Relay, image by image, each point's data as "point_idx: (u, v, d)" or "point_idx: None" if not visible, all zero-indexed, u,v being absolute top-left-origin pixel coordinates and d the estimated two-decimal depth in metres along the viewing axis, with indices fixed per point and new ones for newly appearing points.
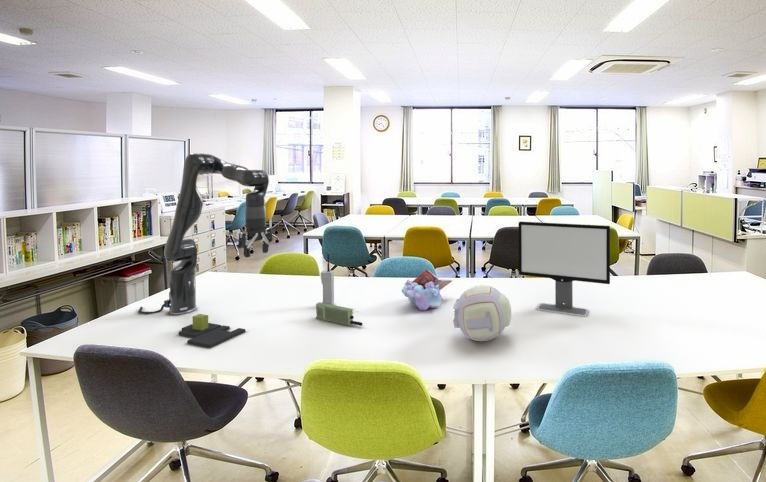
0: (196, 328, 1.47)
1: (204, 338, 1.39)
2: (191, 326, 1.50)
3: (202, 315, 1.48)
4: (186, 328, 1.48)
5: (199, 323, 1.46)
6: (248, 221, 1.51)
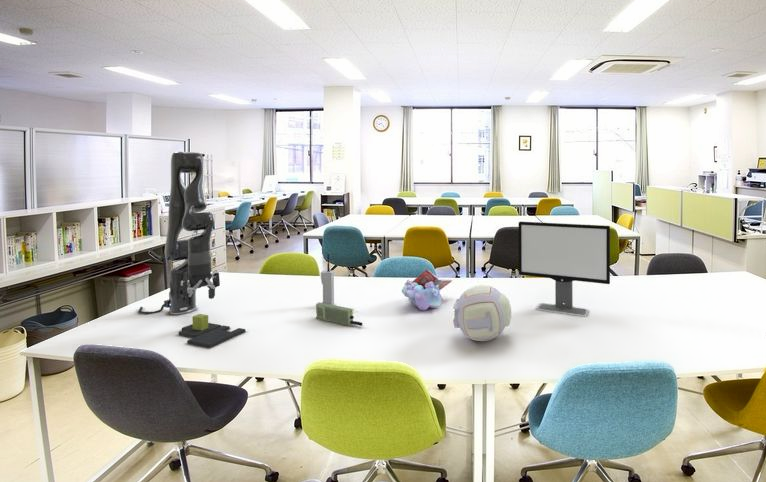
0: (196, 328, 1.47)
1: (204, 338, 1.39)
2: (191, 326, 1.50)
3: (202, 315, 1.48)
4: (186, 328, 1.48)
5: (199, 323, 1.46)
6: (190, 268, 1.44)
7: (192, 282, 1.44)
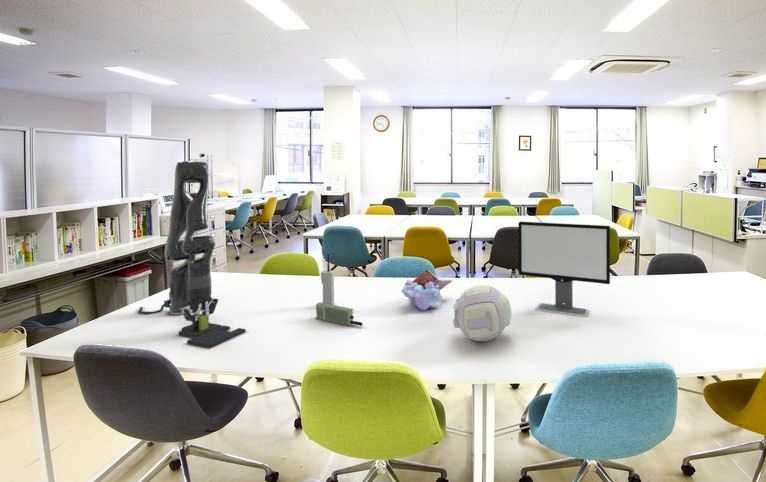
0: None
1: (204, 338, 1.39)
2: (191, 326, 1.50)
3: (202, 315, 1.48)
4: (186, 328, 1.48)
5: (199, 323, 1.46)
6: (190, 292, 1.44)
7: (192, 306, 1.44)
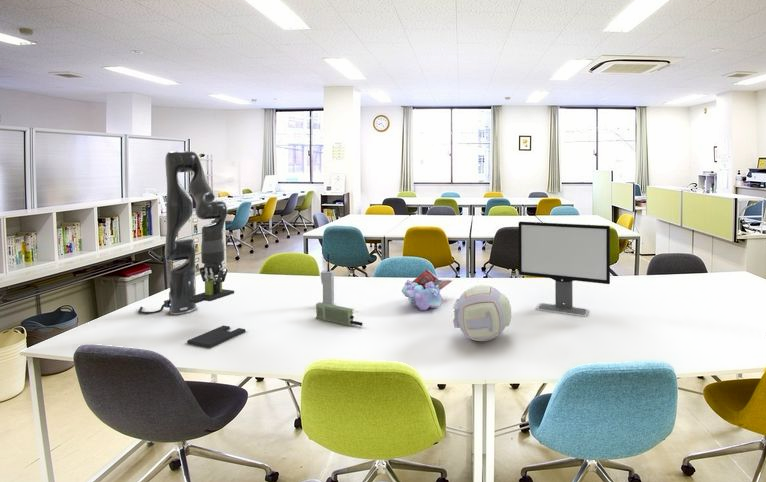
0: None
1: (204, 338, 1.39)
2: (198, 297, 1.44)
3: None
4: (202, 298, 1.43)
5: None
6: (220, 254, 1.48)
7: None
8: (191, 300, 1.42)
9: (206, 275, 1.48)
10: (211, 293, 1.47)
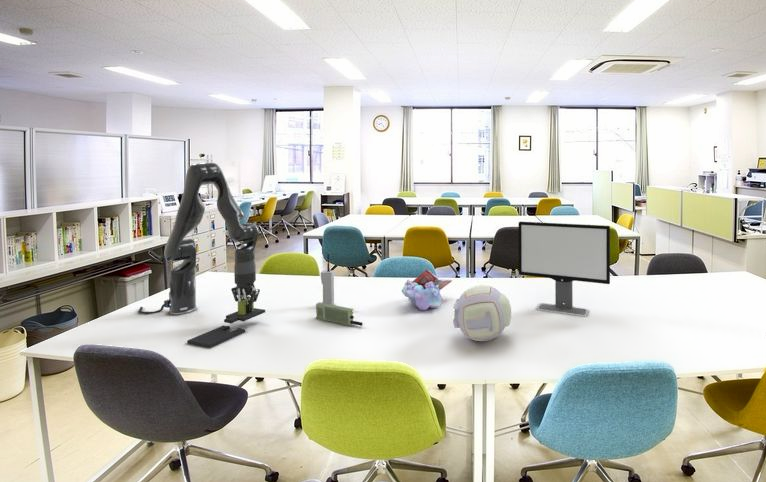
0: None
1: (204, 338, 1.39)
2: (232, 317, 1.48)
3: None
4: (236, 318, 1.48)
5: None
6: (252, 275, 1.53)
7: None
8: (226, 320, 1.46)
9: (239, 295, 1.52)
10: (244, 313, 1.51)
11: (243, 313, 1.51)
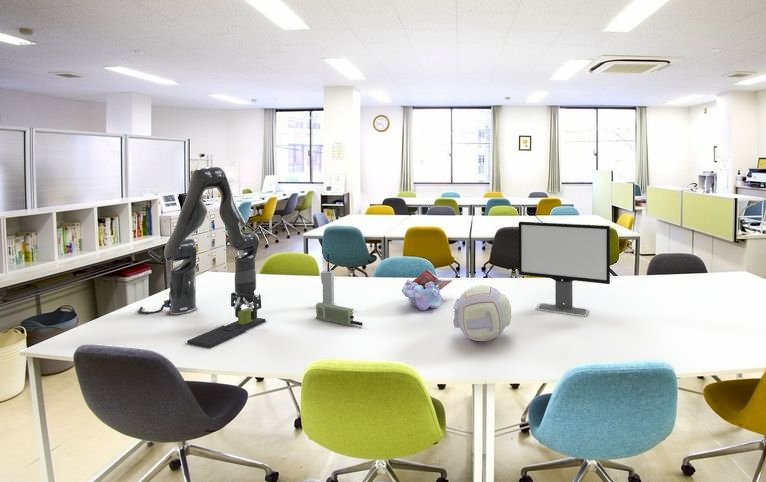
0: (247, 321, 1.53)
1: (204, 338, 1.39)
2: (233, 327, 1.49)
3: (246, 309, 1.54)
4: (236, 328, 1.48)
5: None
6: (253, 283, 1.53)
7: None
8: (226, 330, 1.46)
9: (237, 302, 1.53)
10: (244, 322, 1.52)
11: (243, 323, 1.51)
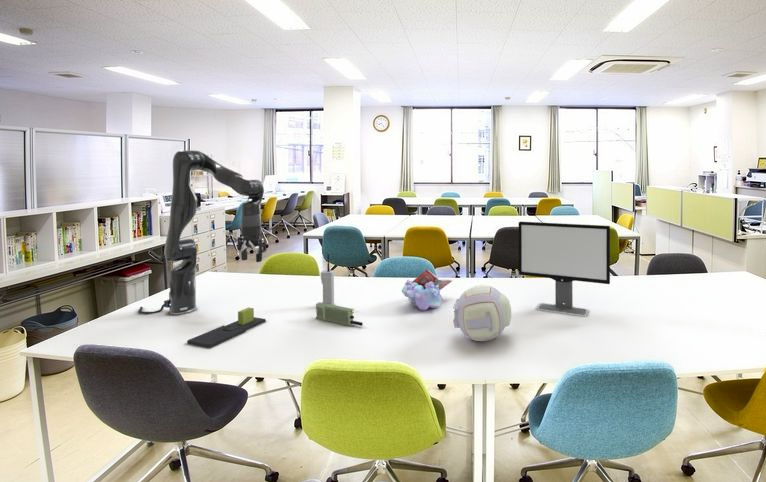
0: (247, 321, 1.53)
1: (204, 338, 1.39)
2: (233, 327, 1.49)
3: (246, 309, 1.54)
4: (236, 328, 1.48)
5: (251, 314, 1.55)
6: (258, 228, 1.61)
7: None
8: (226, 330, 1.46)
9: (243, 246, 1.61)
10: (244, 322, 1.52)
11: (243, 323, 1.51)
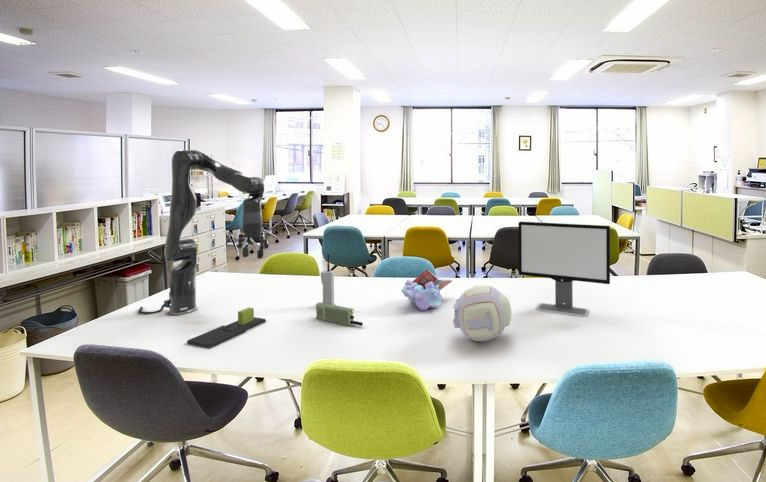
0: (247, 321, 1.53)
1: (204, 338, 1.39)
2: (233, 327, 1.49)
3: (246, 309, 1.54)
4: (236, 328, 1.48)
5: (251, 314, 1.55)
6: (259, 225, 1.62)
7: None
8: (226, 330, 1.46)
9: (244, 243, 1.63)
10: (244, 322, 1.52)
11: (243, 323, 1.51)
